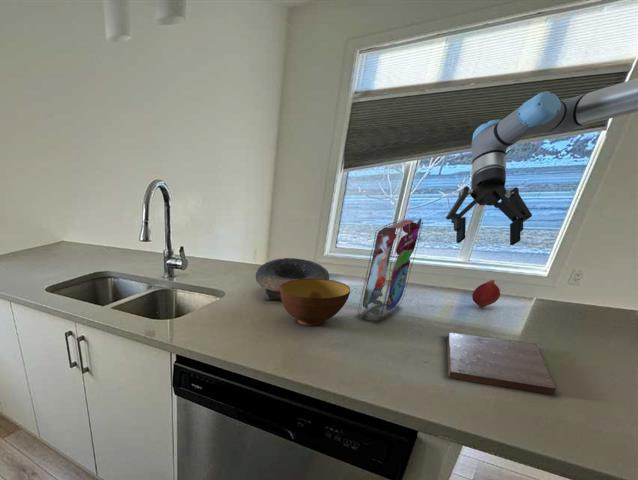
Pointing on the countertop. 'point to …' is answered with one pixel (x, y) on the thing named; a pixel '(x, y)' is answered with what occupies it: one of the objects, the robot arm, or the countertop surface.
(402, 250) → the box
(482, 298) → the onion
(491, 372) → the cutting board
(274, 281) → the grinding stone
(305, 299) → the bowl
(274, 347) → the countertop surface
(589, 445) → the countertop surface
